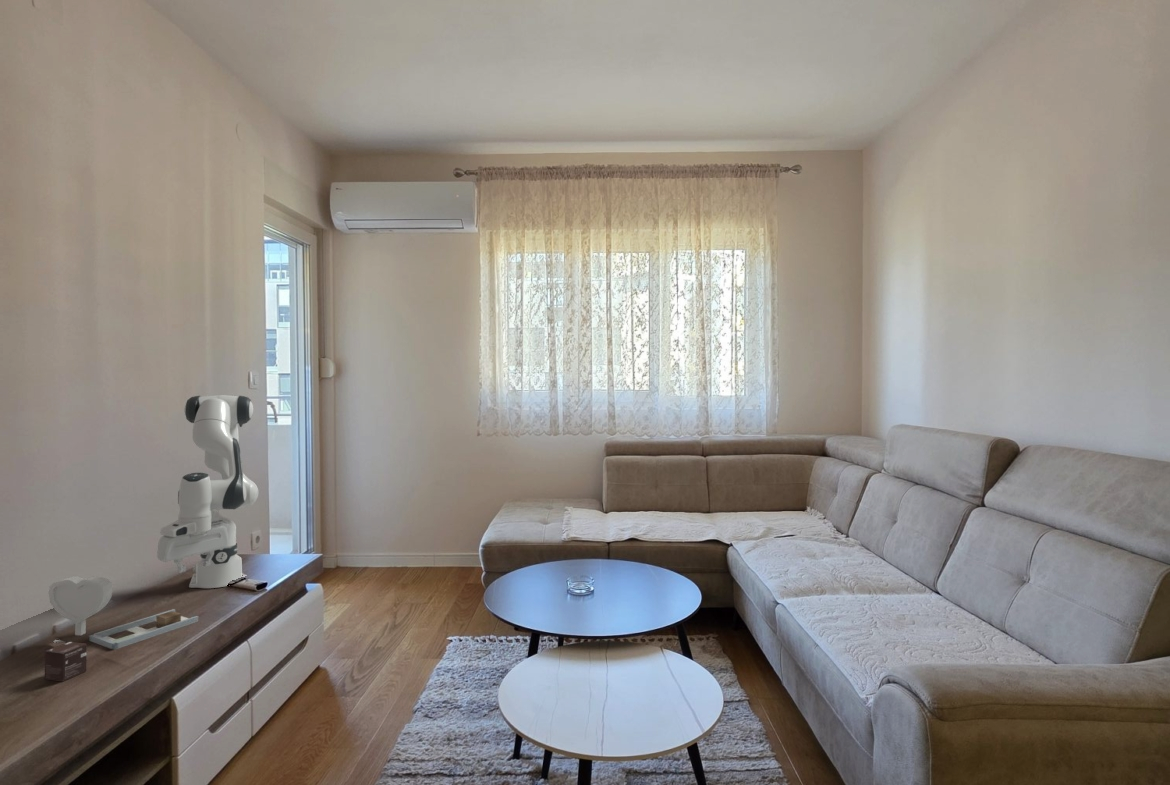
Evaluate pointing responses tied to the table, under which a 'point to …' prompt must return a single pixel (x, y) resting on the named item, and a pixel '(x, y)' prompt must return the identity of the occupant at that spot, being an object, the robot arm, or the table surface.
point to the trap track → (136, 631)
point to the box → (65, 661)
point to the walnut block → (167, 619)
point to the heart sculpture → (80, 599)
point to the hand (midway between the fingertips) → (194, 568)
